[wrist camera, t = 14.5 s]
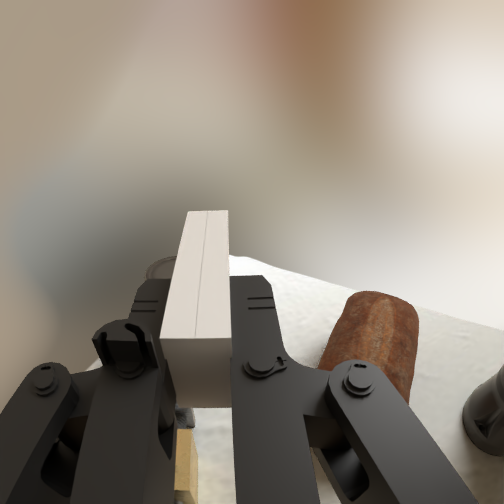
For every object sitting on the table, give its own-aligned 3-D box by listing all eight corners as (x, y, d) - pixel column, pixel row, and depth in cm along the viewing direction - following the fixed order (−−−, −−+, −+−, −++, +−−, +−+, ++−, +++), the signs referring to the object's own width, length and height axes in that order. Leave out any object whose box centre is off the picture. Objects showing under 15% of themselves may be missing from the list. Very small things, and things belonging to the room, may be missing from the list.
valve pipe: (198, 534, 26) (188, 521, 21) (140, 529, 25) (117, 513, 21) (198, 420, 42) (192, 384, 37) (151, 418, 41) (138, 381, 36)
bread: (405, 342, 56) (426, 292, 50) (377, 468, 34) (413, 426, 28) (340, 323, 62) (353, 272, 55) (286, 439, 39) (299, 392, 33)
